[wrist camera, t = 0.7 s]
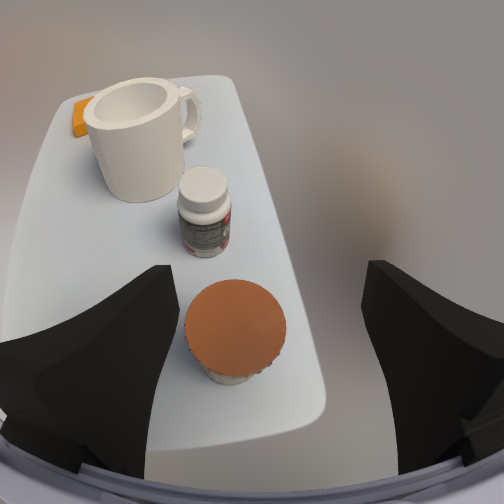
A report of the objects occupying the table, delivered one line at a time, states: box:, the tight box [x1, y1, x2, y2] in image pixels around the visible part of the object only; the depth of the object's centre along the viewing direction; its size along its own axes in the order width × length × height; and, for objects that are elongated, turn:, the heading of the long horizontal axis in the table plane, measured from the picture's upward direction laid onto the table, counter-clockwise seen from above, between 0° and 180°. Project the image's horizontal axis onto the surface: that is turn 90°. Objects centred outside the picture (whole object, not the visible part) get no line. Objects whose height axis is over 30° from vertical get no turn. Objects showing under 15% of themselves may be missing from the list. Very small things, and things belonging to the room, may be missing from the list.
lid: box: [184, 279, 286, 380], centre depth 17 cm, size 6×6×2 cm
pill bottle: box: [177, 166, 231, 257], centre depth 27 cm, size 5×5×8 cm
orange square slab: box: [73, 96, 95, 137], centre depth 38 cm, size 8×8×4 cm
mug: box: [83, 78, 201, 203], centre depth 31 cm, size 14×10×11 cm
